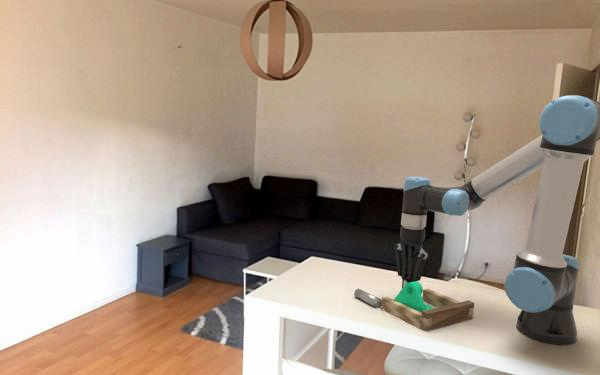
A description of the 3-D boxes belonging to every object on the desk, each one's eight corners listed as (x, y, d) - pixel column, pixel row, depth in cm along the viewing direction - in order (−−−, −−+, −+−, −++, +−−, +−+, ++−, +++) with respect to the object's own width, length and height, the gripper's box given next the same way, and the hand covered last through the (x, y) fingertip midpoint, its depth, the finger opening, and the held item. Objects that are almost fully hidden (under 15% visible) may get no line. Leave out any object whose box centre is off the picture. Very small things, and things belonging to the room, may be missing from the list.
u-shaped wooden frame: (472, 318, 142) (474, 302, 142) (425, 331, 131) (427, 313, 131) (426, 298, 157) (427, 284, 156) (380, 308, 146) (382, 292, 146)
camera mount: (439, 318, 141) (443, 284, 140) (424, 324, 136) (427, 289, 135) (406, 305, 150) (409, 273, 149) (391, 310, 145) (394, 277, 144)
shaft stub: (379, 309, 147) (383, 301, 148) (373, 305, 146) (378, 297, 146) (358, 299, 155) (362, 291, 156) (352, 295, 154) (357, 287, 155)
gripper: (437, 230, 145) (430, 305, 148) (406, 222, 155) (400, 292, 158) (420, 232, 140) (413, 309, 143) (389, 223, 151) (383, 295, 154)
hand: (406, 300), depth 151 cm, fingers closed
